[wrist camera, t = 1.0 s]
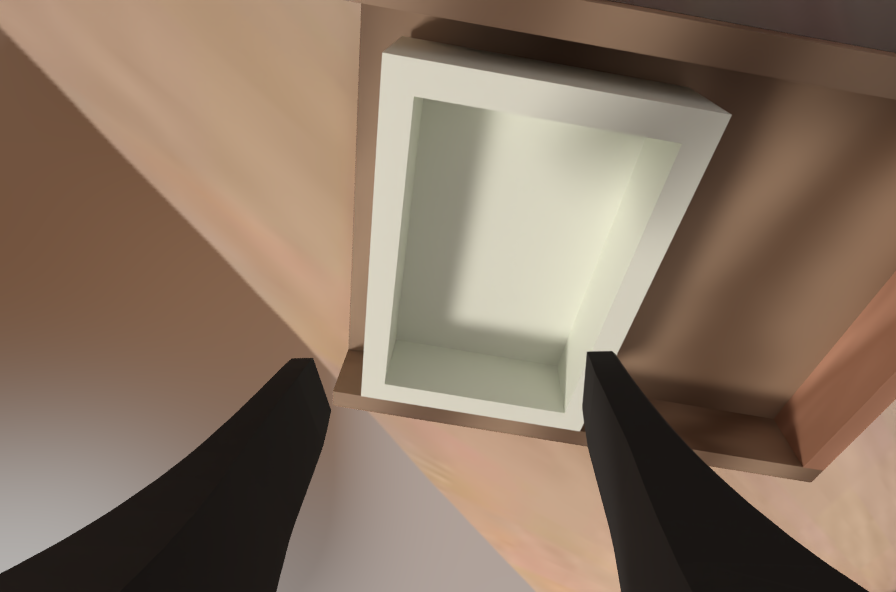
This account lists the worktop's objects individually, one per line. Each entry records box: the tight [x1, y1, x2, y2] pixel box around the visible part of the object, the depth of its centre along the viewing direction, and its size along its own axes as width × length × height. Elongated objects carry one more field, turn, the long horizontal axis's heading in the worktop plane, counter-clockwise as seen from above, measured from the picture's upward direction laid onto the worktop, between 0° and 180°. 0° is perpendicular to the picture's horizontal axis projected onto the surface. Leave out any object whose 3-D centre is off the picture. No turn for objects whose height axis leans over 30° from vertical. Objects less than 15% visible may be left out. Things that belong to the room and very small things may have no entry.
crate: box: [361, 36, 732, 431], centre depth 19 cm, size 10×14×4 cm
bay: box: [333, 0, 896, 482], centre depth 20 cm, size 24×18×4 cm
